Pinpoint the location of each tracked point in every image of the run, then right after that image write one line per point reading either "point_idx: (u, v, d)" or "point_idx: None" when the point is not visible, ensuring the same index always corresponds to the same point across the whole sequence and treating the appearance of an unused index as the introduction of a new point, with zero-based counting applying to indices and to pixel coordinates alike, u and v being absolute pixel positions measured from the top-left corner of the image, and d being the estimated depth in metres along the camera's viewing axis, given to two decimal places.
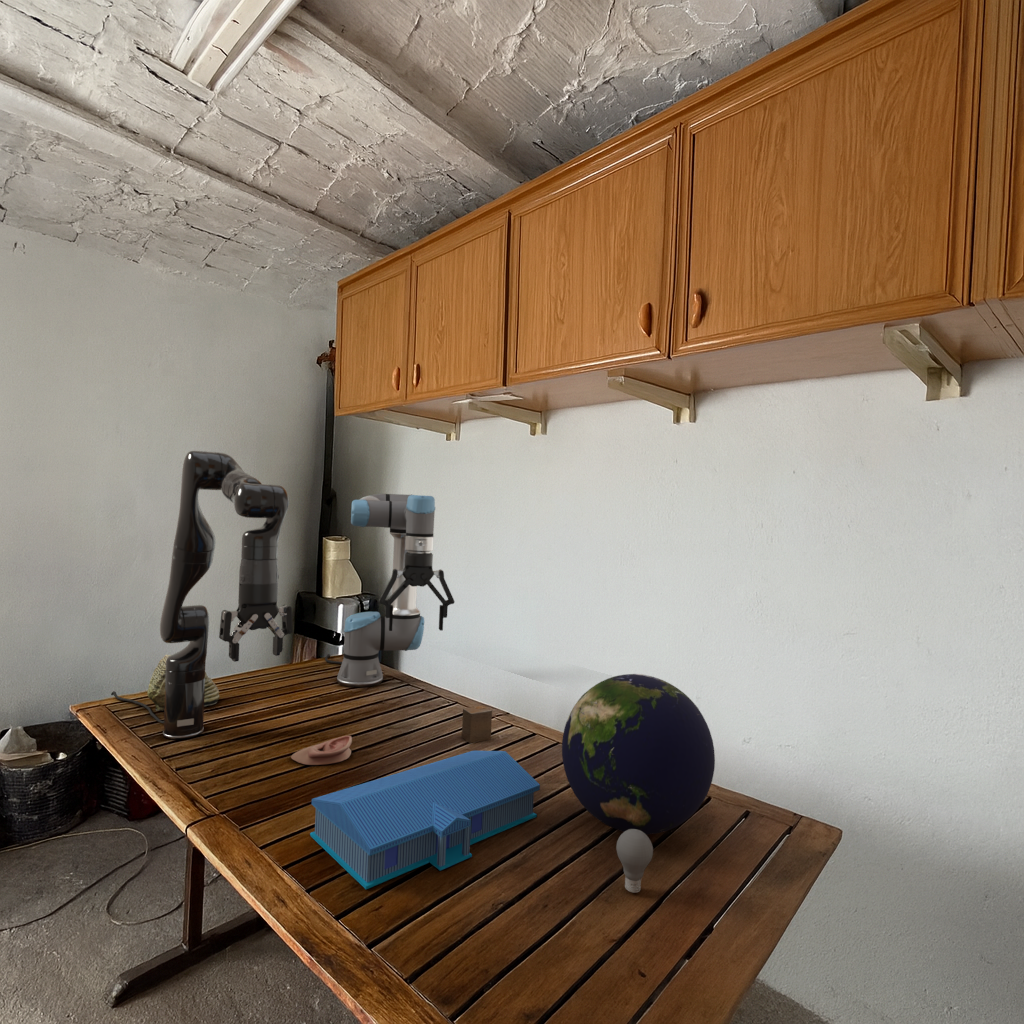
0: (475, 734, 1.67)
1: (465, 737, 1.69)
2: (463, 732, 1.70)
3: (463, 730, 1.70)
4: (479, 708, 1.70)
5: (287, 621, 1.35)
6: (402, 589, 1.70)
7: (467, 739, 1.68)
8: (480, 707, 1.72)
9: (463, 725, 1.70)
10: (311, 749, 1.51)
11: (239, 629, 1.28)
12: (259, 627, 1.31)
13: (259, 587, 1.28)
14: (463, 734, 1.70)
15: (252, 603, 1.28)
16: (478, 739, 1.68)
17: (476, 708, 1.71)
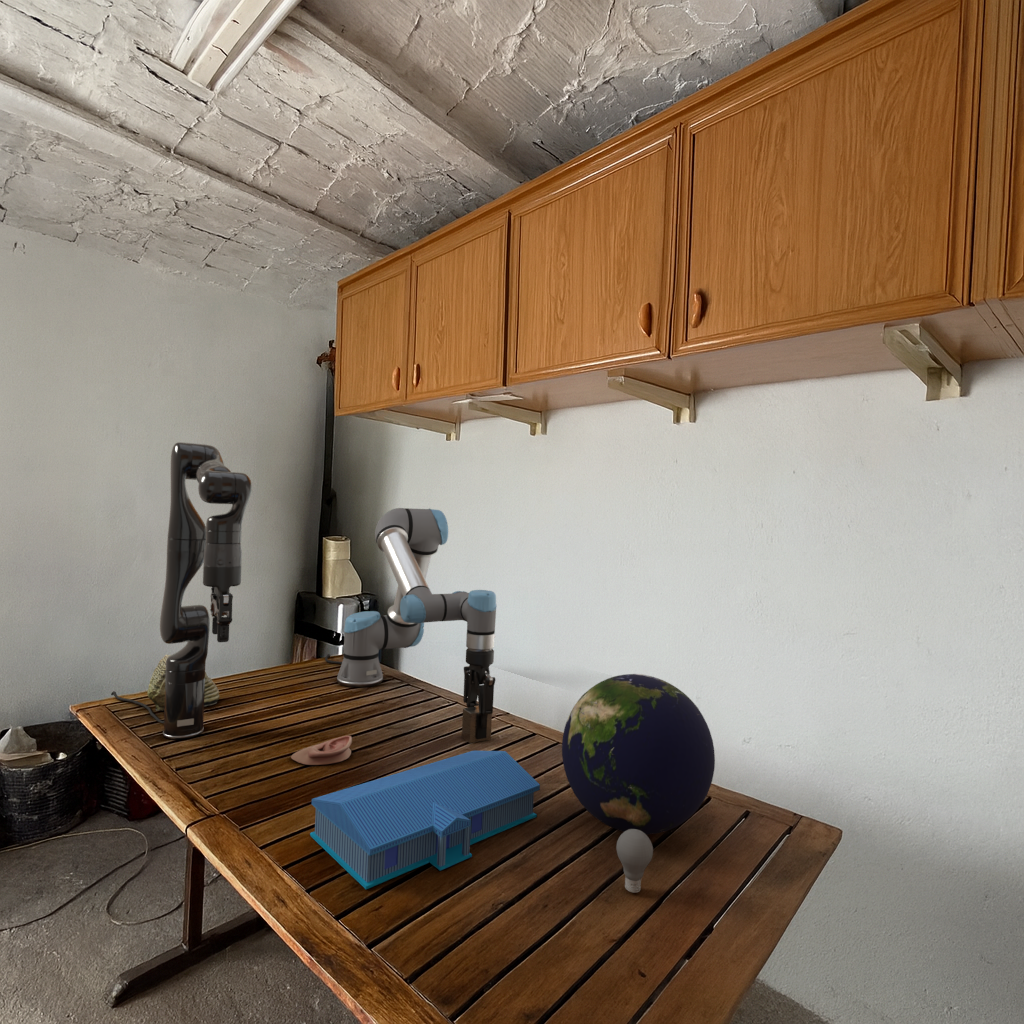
0: (475, 734, 1.67)
1: (465, 737, 1.69)
2: (463, 732, 1.70)
3: (463, 730, 1.70)
4: None
5: (219, 609, 1.32)
6: None
7: (467, 739, 1.68)
8: None
9: (463, 725, 1.70)
10: (311, 749, 1.51)
11: None
12: None
13: None
14: (463, 734, 1.70)
15: None
16: (478, 739, 1.68)
17: (476, 708, 1.71)
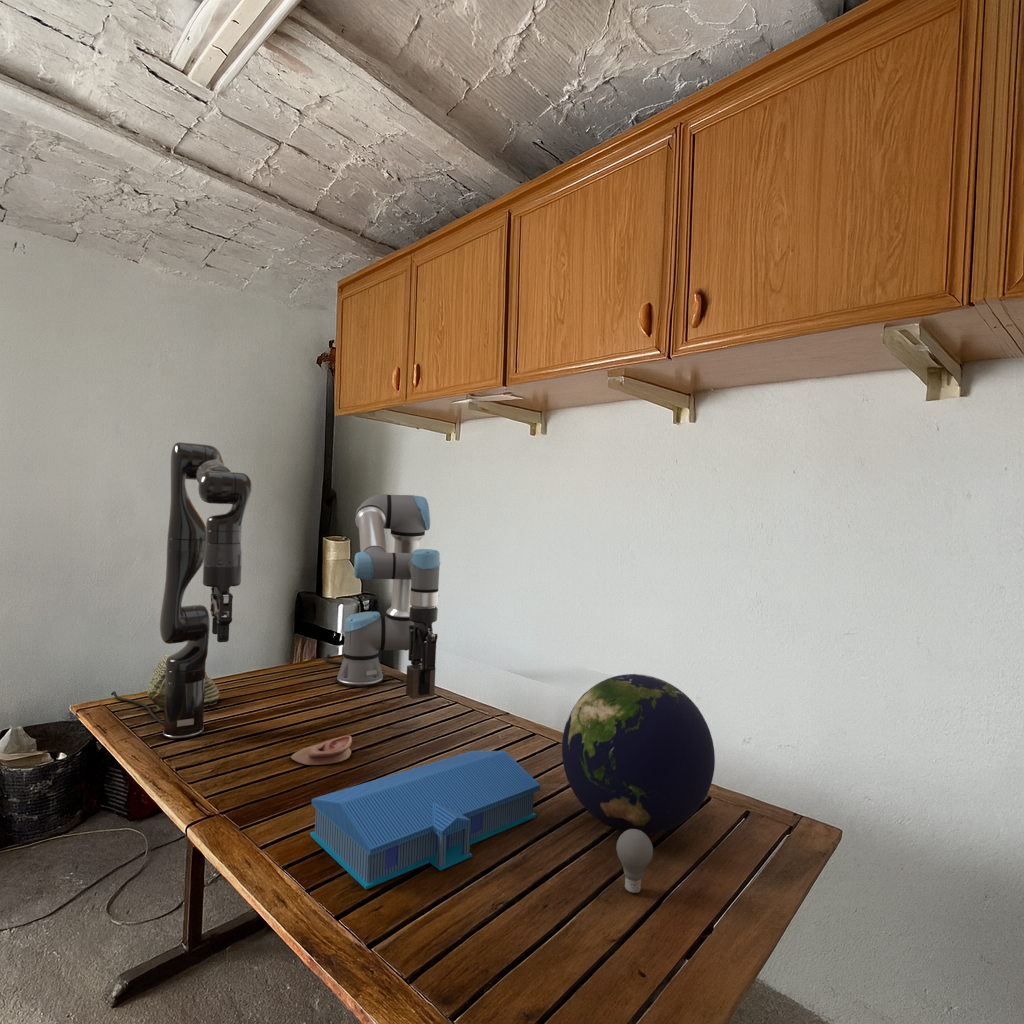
0: (418, 690, 1.70)
1: (408, 693, 1.71)
2: (407, 689, 1.72)
3: (407, 687, 1.72)
4: None
5: (219, 609, 1.32)
6: None
7: (410, 695, 1.70)
8: None
9: (407, 682, 1.72)
10: (311, 749, 1.51)
11: None
12: None
13: None
14: (407, 691, 1.72)
15: None
16: (421, 695, 1.70)
17: (420, 665, 1.73)
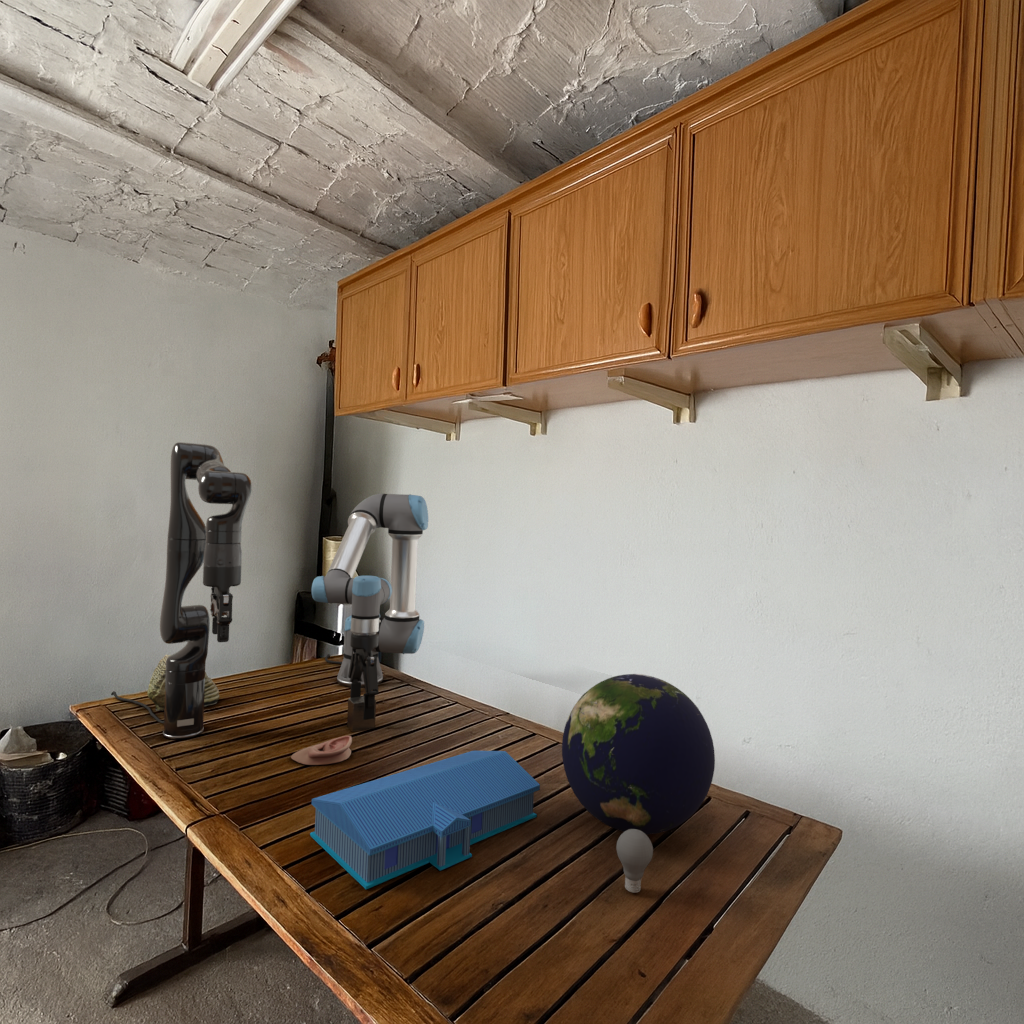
0: (358, 723, 1.72)
1: (349, 726, 1.73)
2: (348, 721, 1.74)
3: (348, 719, 1.74)
4: None
5: (219, 609, 1.32)
6: None
7: (350, 728, 1.72)
8: None
9: (348, 714, 1.74)
10: (311, 749, 1.51)
11: None
12: None
13: None
14: (348, 723, 1.74)
15: None
16: (361, 728, 1.72)
17: (361, 698, 1.75)
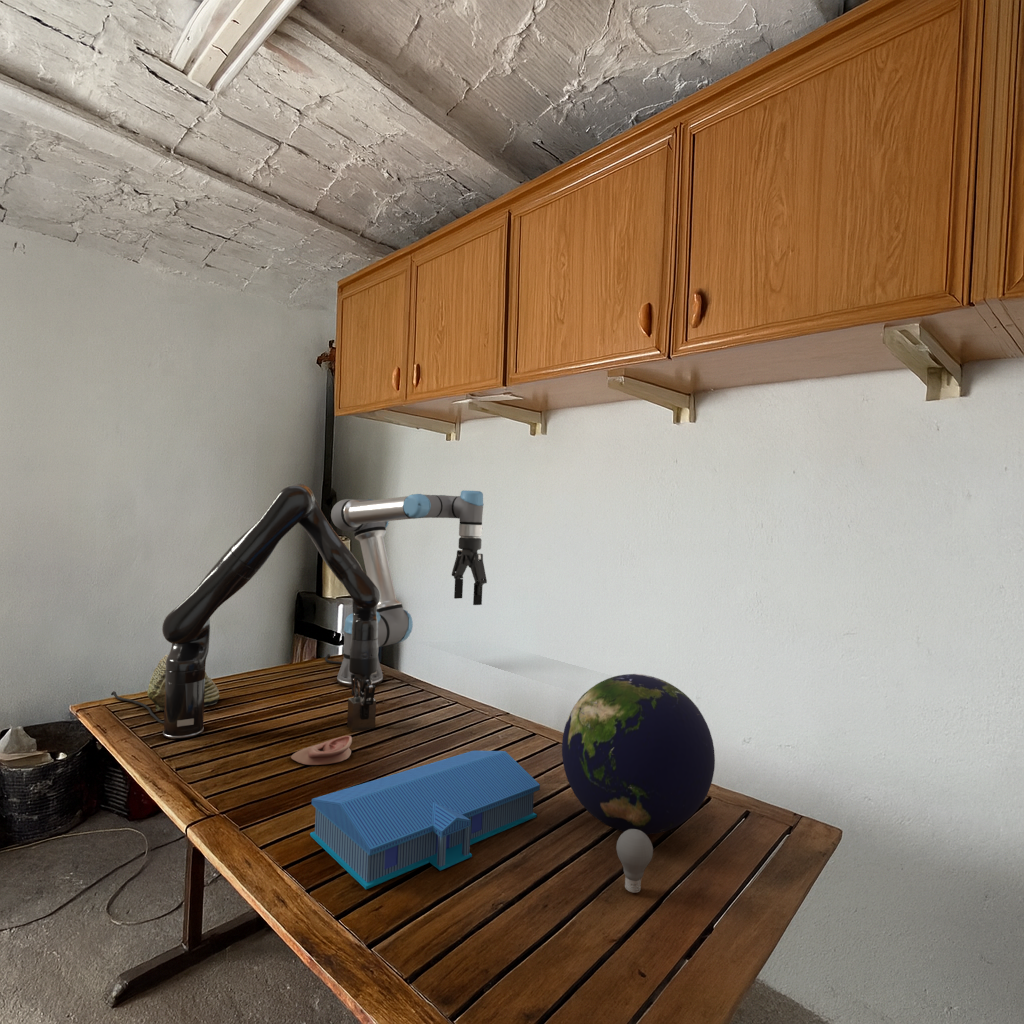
0: (358, 723, 1.72)
1: (349, 726, 1.73)
2: (348, 721, 1.74)
3: (348, 719, 1.74)
4: None
5: (364, 695, 1.69)
6: None
7: (350, 728, 1.72)
8: None
9: (348, 714, 1.74)
10: (311, 749, 1.51)
11: None
12: None
13: None
14: (348, 723, 1.74)
15: None
16: (361, 728, 1.72)
17: None
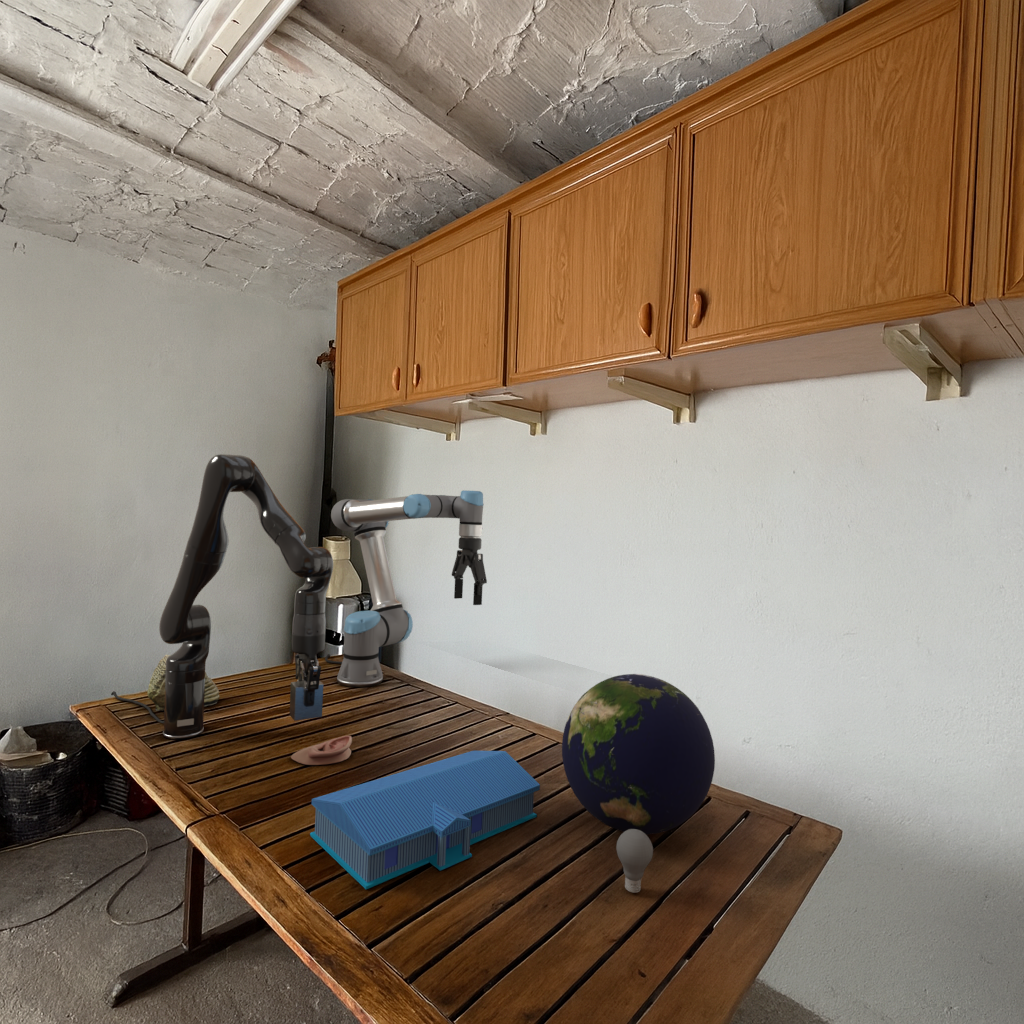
0: (301, 711, 1.48)
1: (291, 714, 1.49)
2: (290, 709, 1.50)
3: (290, 707, 1.50)
4: None
5: (308, 678, 1.45)
6: None
7: (292, 716, 1.48)
8: (312, 681, 1.52)
9: (290, 701, 1.50)
10: (311, 749, 1.51)
11: None
12: None
13: None
14: (290, 711, 1.50)
15: None
16: (305, 716, 1.48)
17: None
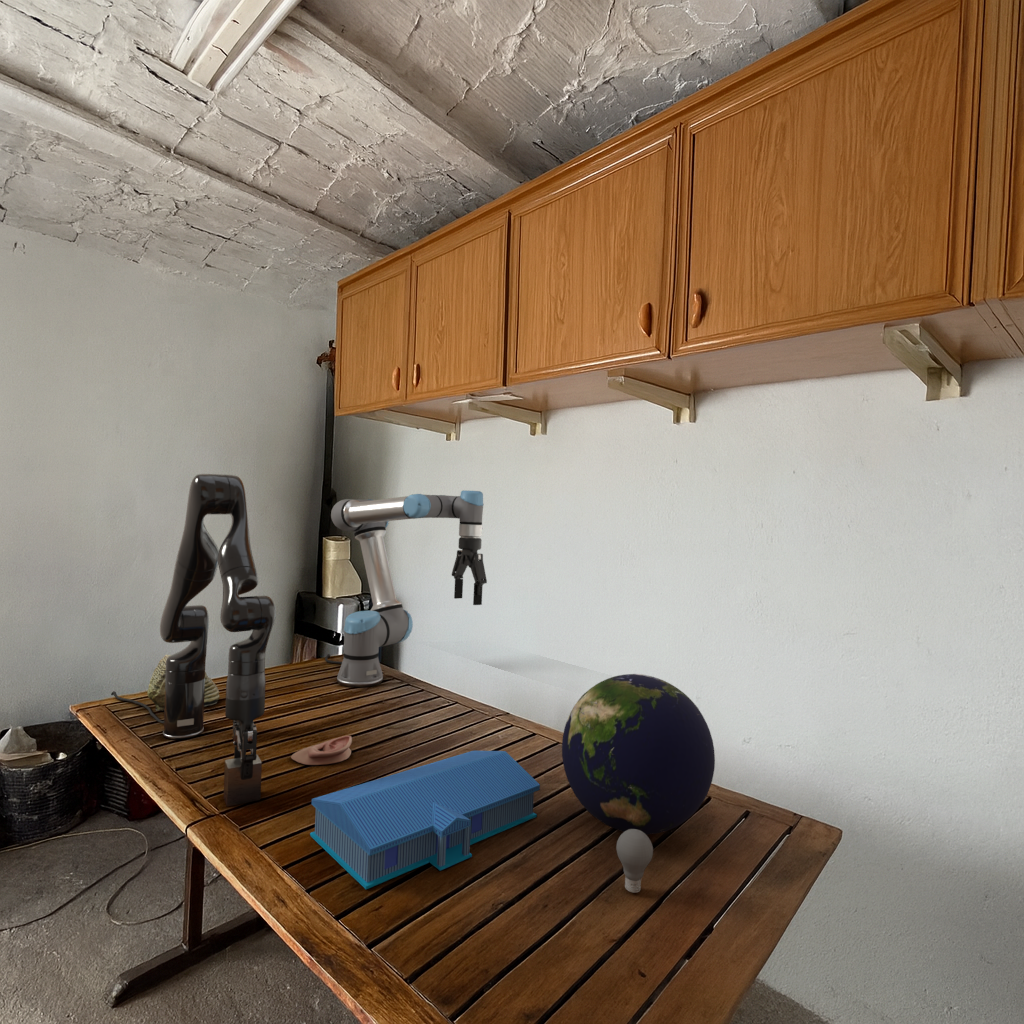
0: (235, 795, 1.29)
1: (225, 798, 1.30)
2: (224, 791, 1.31)
3: (224, 788, 1.31)
4: None
5: (242, 747, 1.25)
6: None
7: (225, 801, 1.29)
8: None
9: (224, 782, 1.31)
10: (311, 749, 1.51)
11: None
12: None
13: None
14: (224, 793, 1.31)
15: None
16: (240, 801, 1.29)
17: None
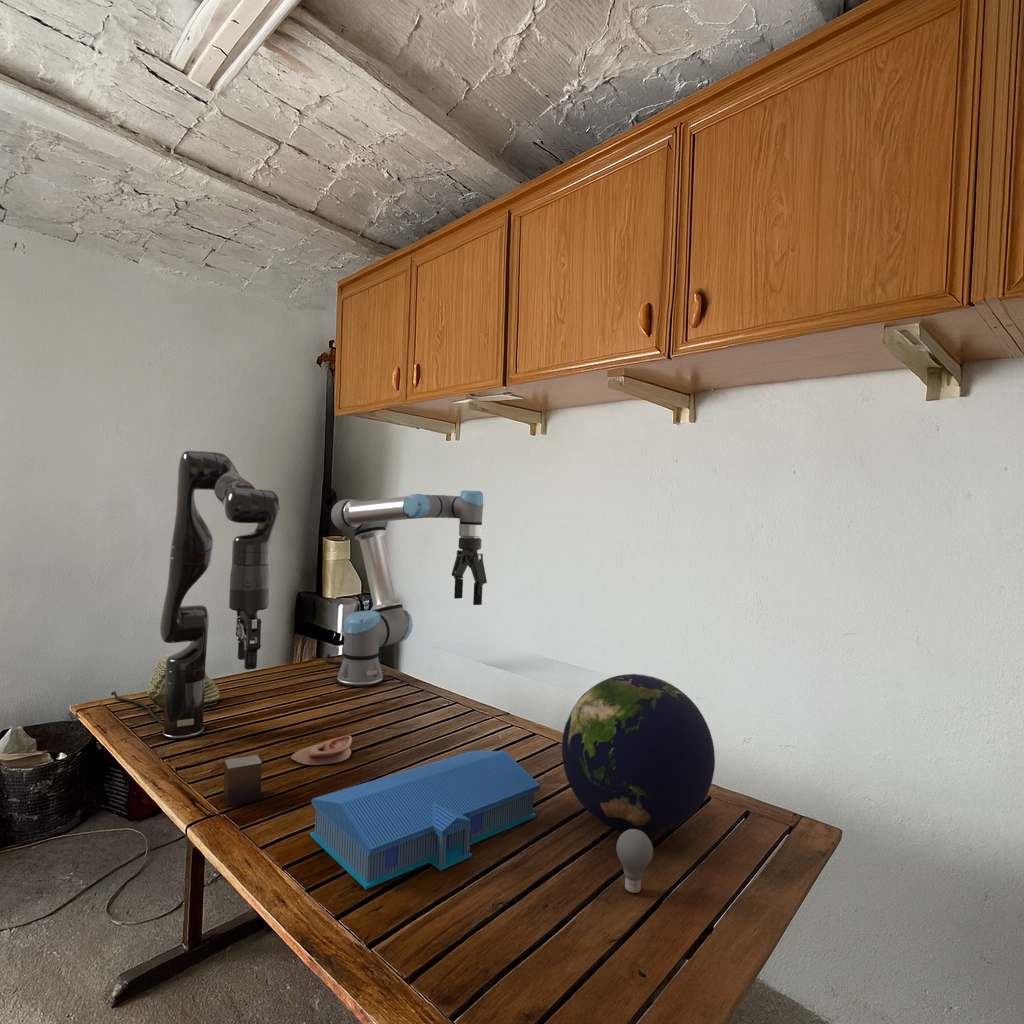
0: (235, 795, 1.29)
1: (225, 798, 1.30)
2: (224, 791, 1.31)
3: (224, 788, 1.31)
4: (246, 760, 1.32)
5: (246, 635, 1.25)
6: None
7: (225, 801, 1.29)
8: (249, 758, 1.33)
9: (224, 782, 1.31)
10: (311, 749, 1.51)
11: None
12: None
13: None
14: (224, 794, 1.31)
15: None
16: (240, 801, 1.29)
17: (243, 759, 1.32)
